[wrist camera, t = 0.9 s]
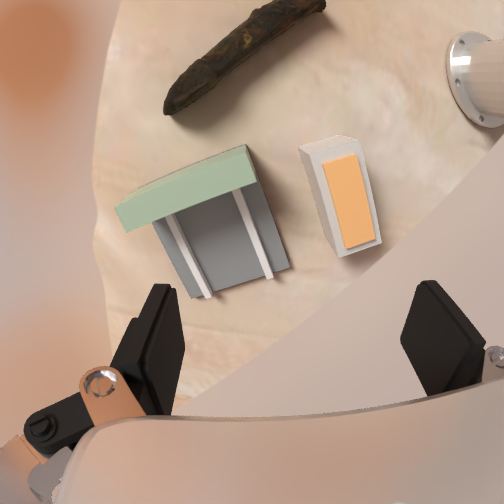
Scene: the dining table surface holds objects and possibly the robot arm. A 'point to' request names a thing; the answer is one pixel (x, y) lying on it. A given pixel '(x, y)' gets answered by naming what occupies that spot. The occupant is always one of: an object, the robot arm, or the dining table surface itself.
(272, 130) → the dining table surface
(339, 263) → the dining table surface
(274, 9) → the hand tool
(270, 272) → the chute mount
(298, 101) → the dining table surface
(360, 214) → the holder
